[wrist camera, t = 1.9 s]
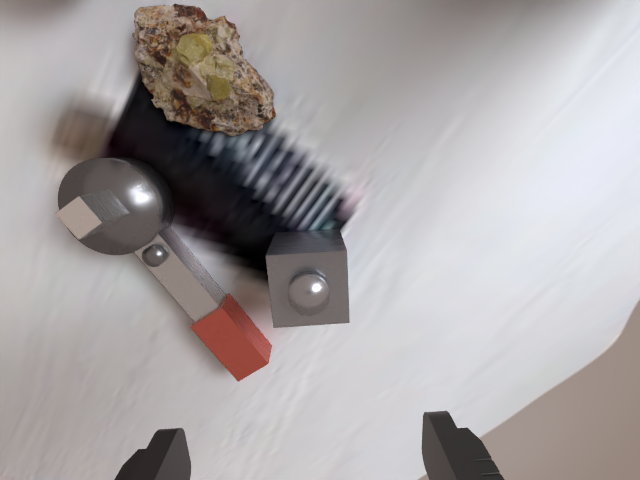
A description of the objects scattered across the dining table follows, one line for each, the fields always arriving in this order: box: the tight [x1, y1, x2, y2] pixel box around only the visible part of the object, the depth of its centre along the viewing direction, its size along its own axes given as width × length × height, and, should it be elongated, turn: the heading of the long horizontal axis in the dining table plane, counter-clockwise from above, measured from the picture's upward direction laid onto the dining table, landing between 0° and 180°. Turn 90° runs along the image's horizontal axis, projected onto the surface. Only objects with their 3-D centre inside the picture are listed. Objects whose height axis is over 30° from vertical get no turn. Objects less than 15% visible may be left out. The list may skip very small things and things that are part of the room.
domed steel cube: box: [266, 229, 349, 328], centre depth 25 cm, size 5×5×7 cm
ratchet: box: [55, 157, 272, 381], centre depth 25 cm, size 7×21×6 cm, turn 33°
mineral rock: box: [133, 4, 276, 136], centre depth 23 cm, size 11×4×8 cm
